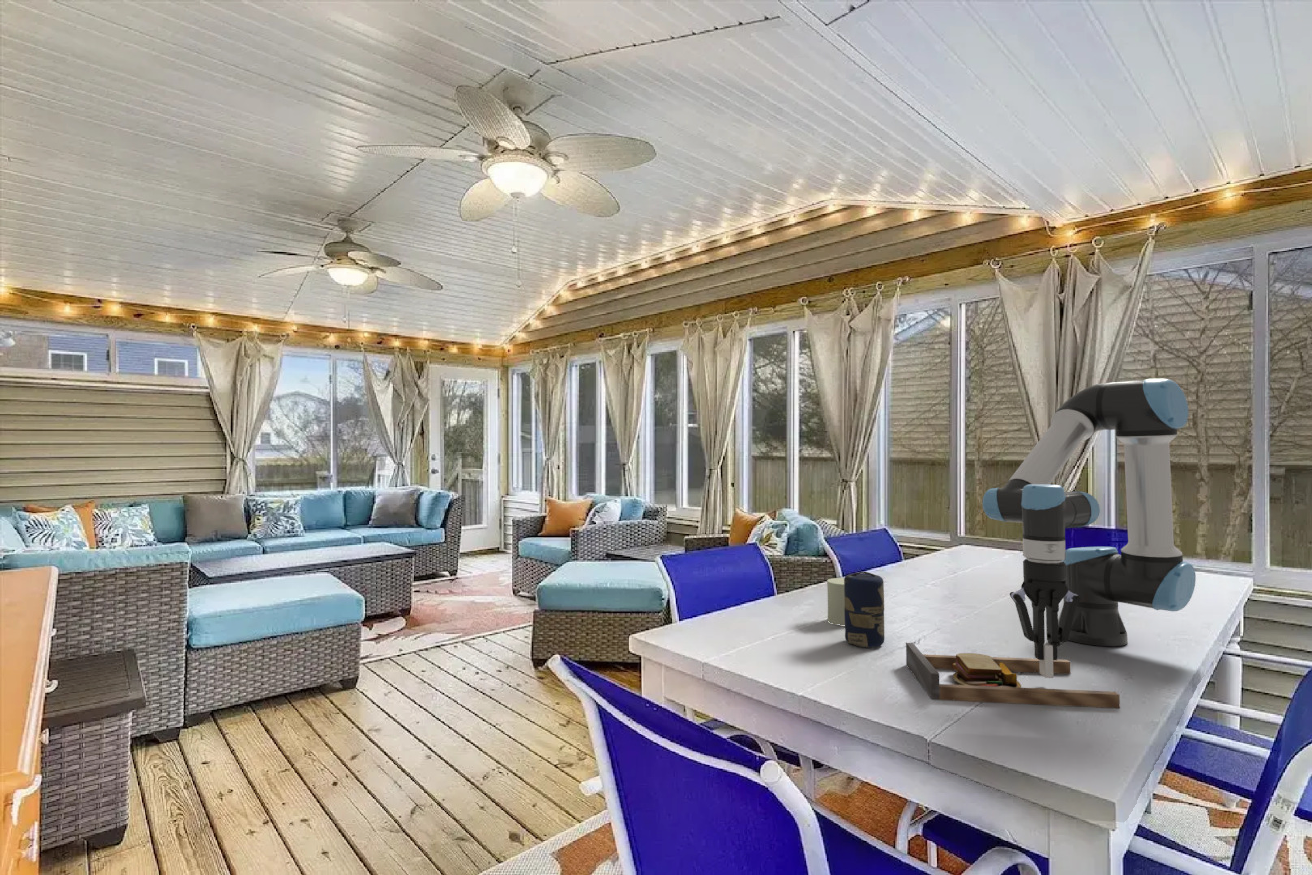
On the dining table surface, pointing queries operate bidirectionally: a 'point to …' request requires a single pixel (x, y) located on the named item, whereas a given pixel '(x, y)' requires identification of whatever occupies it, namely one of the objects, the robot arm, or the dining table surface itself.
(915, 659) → the open-ended frame
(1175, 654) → the dining table surface
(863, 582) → the canister
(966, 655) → the toy sandwich meal
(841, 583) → the can
